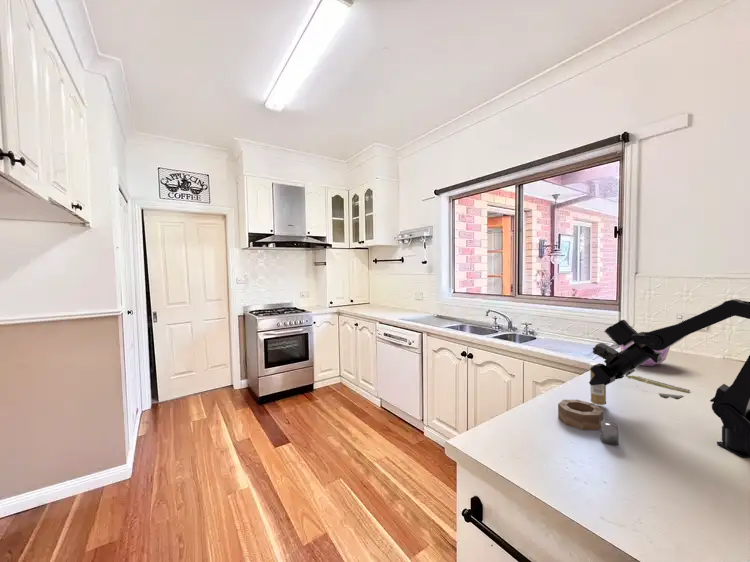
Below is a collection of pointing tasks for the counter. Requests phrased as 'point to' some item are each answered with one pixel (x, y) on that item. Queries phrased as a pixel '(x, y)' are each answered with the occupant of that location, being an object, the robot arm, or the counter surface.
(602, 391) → the sprinkles bottle
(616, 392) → the counter surface
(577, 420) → the walnut collar
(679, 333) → the robot arm
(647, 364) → the bowl of food
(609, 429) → the short metal stub
